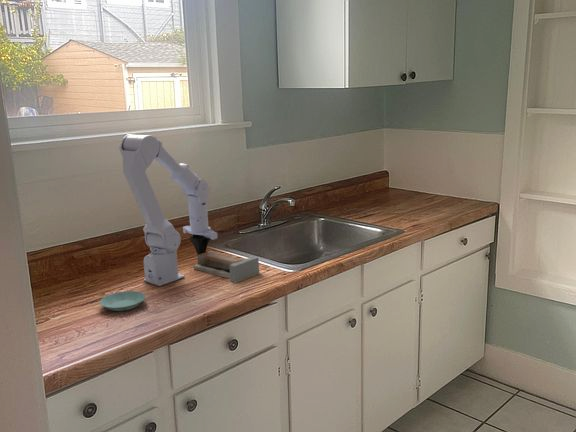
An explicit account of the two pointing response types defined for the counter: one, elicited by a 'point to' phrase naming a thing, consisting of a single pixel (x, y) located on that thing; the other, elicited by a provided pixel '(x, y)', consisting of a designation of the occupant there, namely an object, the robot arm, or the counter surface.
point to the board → (244, 269)
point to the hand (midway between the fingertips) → (201, 257)
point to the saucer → (123, 300)
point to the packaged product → (216, 263)
